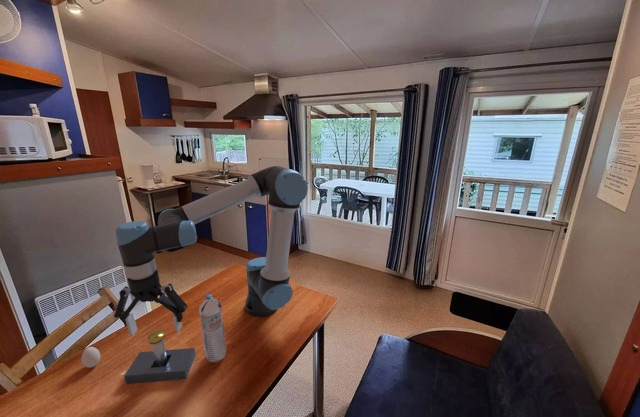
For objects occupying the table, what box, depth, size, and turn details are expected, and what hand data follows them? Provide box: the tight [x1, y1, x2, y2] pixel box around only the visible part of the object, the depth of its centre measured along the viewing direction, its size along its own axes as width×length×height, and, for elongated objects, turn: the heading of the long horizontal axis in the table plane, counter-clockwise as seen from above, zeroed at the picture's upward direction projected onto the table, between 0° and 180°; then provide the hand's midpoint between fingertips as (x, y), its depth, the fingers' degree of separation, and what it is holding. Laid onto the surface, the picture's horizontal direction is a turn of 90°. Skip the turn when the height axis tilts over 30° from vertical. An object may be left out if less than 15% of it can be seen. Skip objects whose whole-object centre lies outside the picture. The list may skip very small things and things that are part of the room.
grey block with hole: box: [123, 347, 197, 385], centre depth 86 cm, size 18×9×4 cm, turn 97°
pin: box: [147, 329, 168, 367], centre depth 85 cm, size 5×5×14 cm
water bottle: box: [198, 294, 227, 364], centre depth 89 cm, size 7×7×25 cm
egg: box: [80, 346, 101, 369], centre depth 87 cm, size 5×5×7 cm
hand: (156, 331), depth 82 cm, fingers open, 13 cm apart
